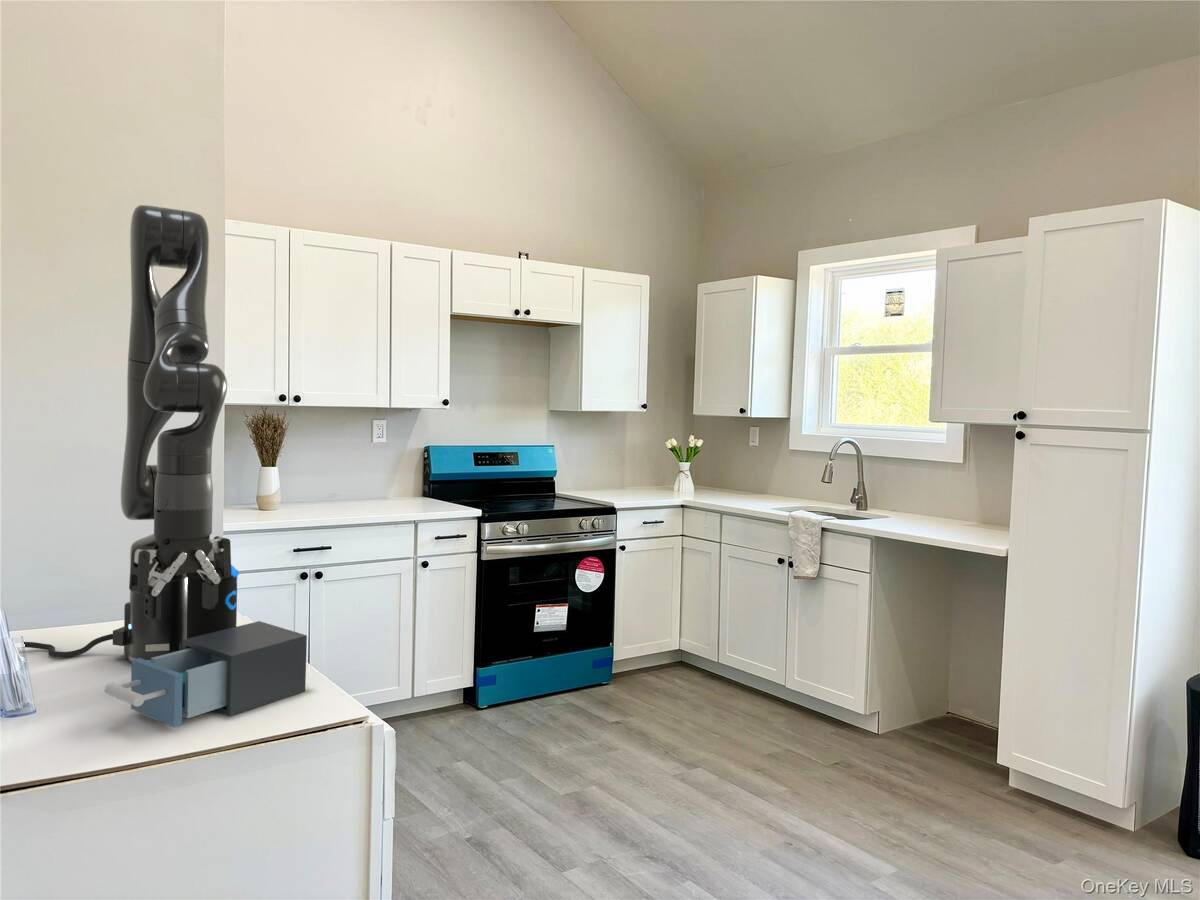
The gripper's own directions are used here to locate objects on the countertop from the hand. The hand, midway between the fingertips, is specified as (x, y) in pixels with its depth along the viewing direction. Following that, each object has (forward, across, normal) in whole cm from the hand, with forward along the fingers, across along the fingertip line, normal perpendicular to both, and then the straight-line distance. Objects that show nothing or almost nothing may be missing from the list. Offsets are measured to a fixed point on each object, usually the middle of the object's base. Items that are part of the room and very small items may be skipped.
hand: (181, 614), depth 128 cm
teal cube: (+13, 0, 0) cm, 13 cm away
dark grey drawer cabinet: (+15, -11, 0) cm, 18 cm away
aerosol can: (+15, -16, -15) cm, 27 cm away
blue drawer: (+14, +1, 0) cm, 14 cm away
